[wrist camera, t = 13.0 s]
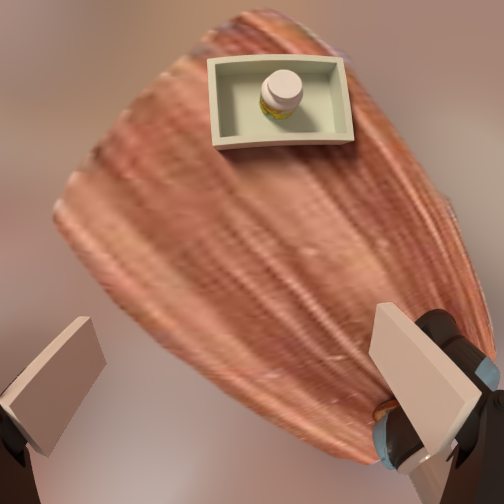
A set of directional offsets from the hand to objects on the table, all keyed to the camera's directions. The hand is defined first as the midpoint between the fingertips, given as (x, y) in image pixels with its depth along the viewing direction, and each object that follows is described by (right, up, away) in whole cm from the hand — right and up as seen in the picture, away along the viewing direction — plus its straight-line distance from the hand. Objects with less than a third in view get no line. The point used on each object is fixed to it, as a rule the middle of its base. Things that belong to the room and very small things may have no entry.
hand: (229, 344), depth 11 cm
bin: (+5, +26, +26) cm, 37 cm away
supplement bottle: (+5, +26, +25) cm, 36 cm away
